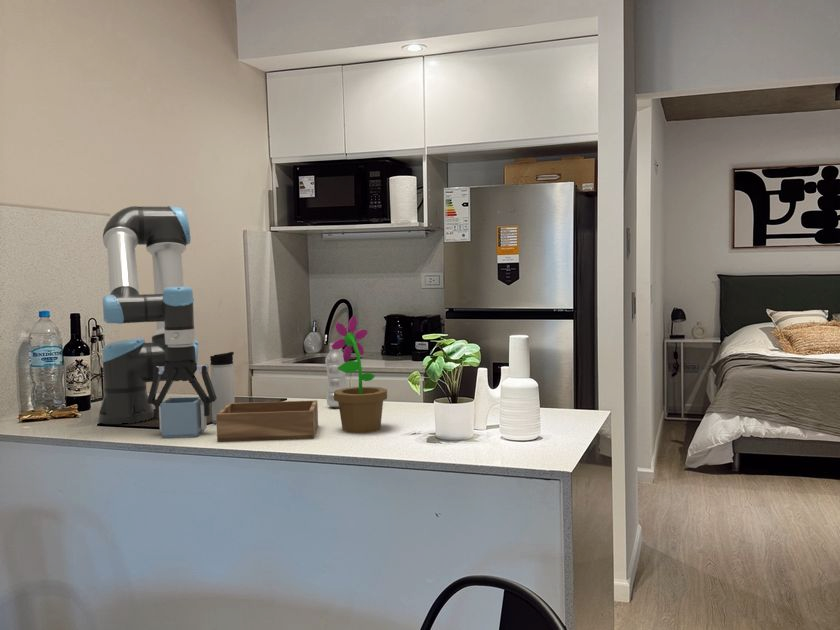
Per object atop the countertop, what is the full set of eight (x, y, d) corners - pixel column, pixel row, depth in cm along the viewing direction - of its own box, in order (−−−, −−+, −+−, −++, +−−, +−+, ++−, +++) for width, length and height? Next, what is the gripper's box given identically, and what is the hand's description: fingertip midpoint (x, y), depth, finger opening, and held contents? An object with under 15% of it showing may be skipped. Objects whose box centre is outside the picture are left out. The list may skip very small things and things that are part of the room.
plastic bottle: (347, 409, 235) (345, 343, 234) (325, 409, 235) (323, 344, 234) (349, 405, 241) (347, 341, 240) (328, 405, 241) (326, 342, 240)
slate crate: (170, 430, 208) (169, 397, 208) (204, 429, 209) (203, 396, 208) (161, 438, 199) (160, 403, 199) (197, 437, 200) (195, 402, 199)
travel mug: (230, 424, 215) (227, 353, 213) (208, 424, 216) (205, 353, 215) (240, 420, 221) (237, 350, 219) (218, 419, 222) (216, 350, 221)
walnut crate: (229, 428, 210) (228, 403, 209) (318, 425, 211) (317, 400, 210) (217, 441, 194) (216, 414, 193) (313, 438, 195) (312, 411, 195)
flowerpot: (364, 421, 216) (361, 314, 214) (399, 428, 206) (397, 316, 204) (323, 429, 206) (320, 317, 204) (358, 437, 196) (355, 319, 194)
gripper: (131, 348, 198) (135, 433, 199) (220, 345, 199) (224, 430, 201) (140, 345, 206) (144, 427, 207) (226, 342, 207) (229, 424, 208)
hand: (183, 429), depth 204 cm, fingers open, 10 cm apart
